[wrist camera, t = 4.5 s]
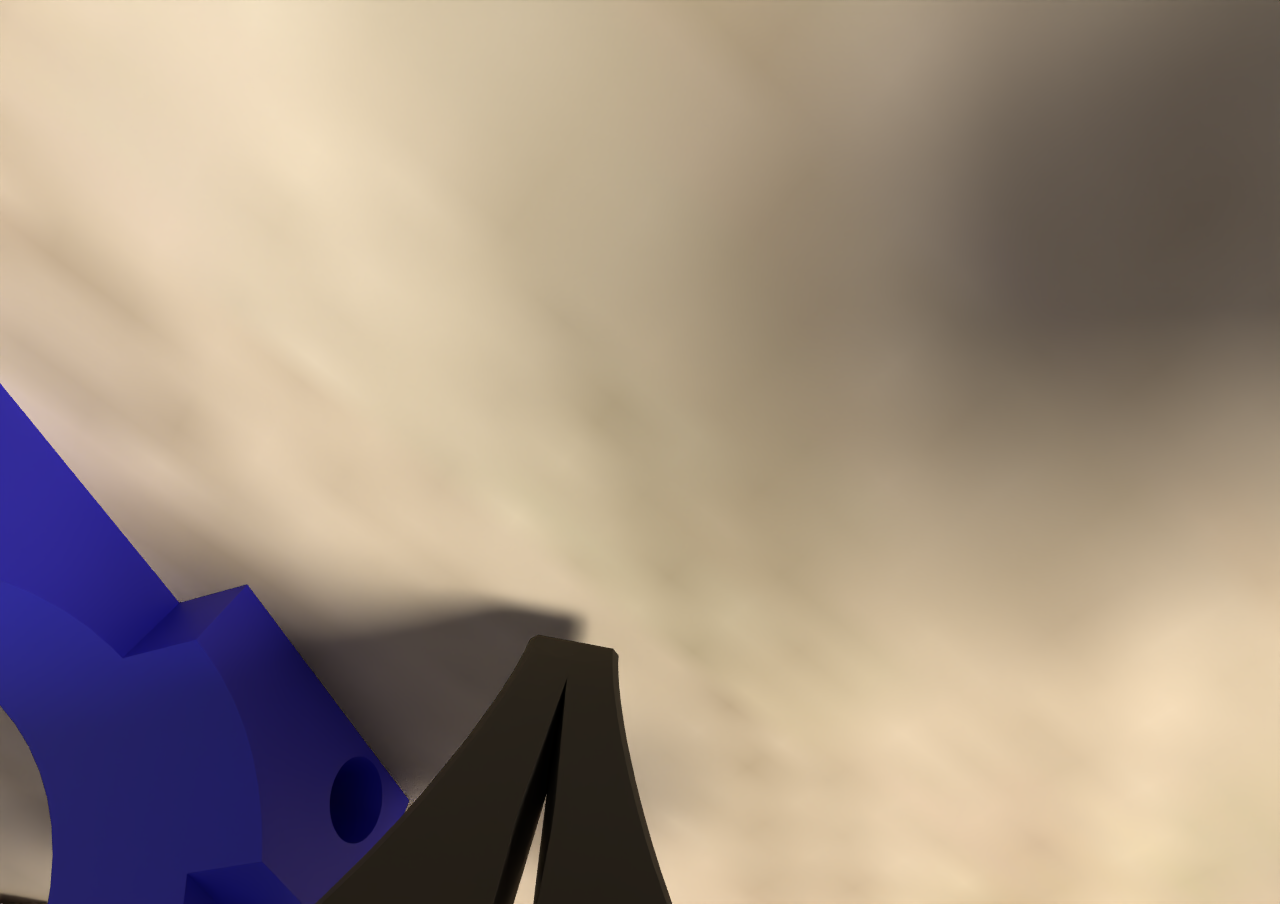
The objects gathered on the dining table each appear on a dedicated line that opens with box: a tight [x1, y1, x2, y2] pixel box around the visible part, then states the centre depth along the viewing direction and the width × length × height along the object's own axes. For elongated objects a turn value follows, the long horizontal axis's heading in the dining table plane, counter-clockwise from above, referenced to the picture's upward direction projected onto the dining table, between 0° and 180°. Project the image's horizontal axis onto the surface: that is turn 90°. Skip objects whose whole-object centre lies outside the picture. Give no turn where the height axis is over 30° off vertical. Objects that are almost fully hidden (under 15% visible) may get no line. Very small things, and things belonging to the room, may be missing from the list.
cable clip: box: [0, 384, 409, 904], centre depth 10 cm, size 12×4×6 cm, turn 19°
